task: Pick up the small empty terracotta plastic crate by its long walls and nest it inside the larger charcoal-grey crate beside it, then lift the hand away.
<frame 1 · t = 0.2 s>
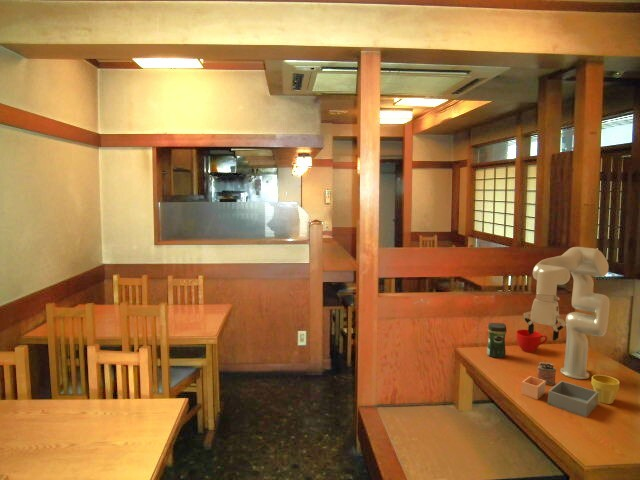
hand: (542, 336, 186), 30 cm above the table, fingers open, 9 cm apart
terracotta crate: (533, 393, 199), on the table
lighter: (545, 383, 210), on the table
plant pot: (603, 400, 194), on the table
grey crate: (572, 404, 190), on the table
ceramic cup: (531, 350, 252), on the table
coffee jar: (495, 355, 244), on the table
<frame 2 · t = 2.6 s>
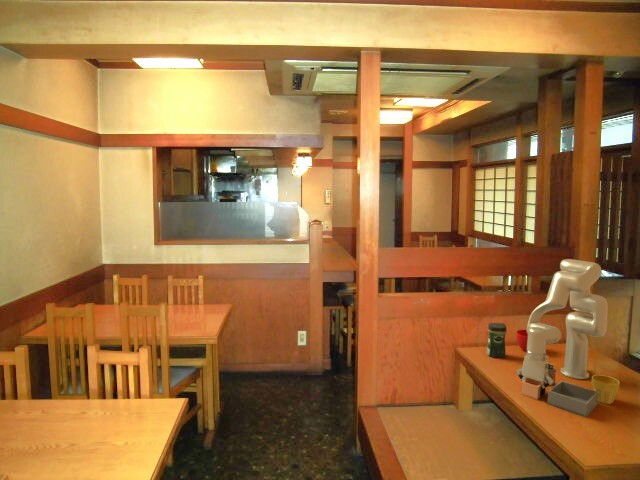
hand: (533, 392, 199), 1 cm above the table, fingers closed on terracotta crate, 7 cm apart
terracotta crate: (533, 393, 199), on the table, touching gripper
everything else where it was.
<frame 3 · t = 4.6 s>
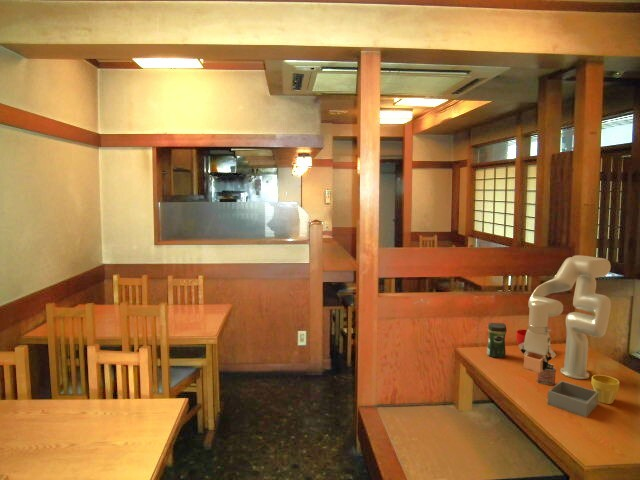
hand: (535, 366, 198), 13 cm above the table, fingers closed on terracotta crate, 7 cm apart
terracotta crate: (535, 367, 198), point 12 cm above the table, touching gripper
everything else where it was.
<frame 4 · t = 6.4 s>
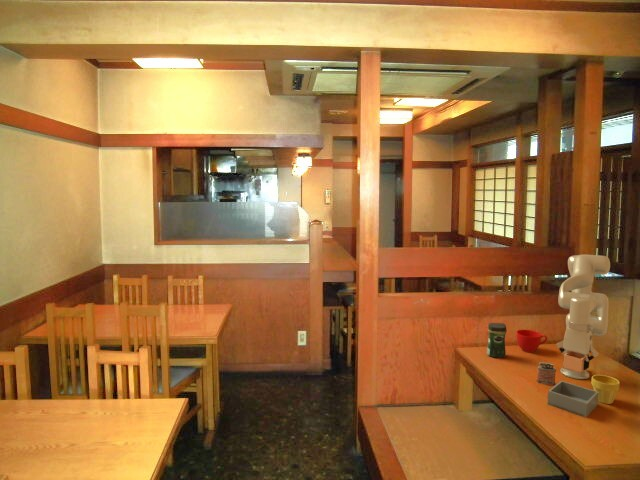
hand: (575, 366, 187), 17 cm above the table, fingers closed on terracotta crate, 7 cm apart
terracotta crate: (575, 367, 187), point 17 cm above the table, touching gripper
everything else where it was.
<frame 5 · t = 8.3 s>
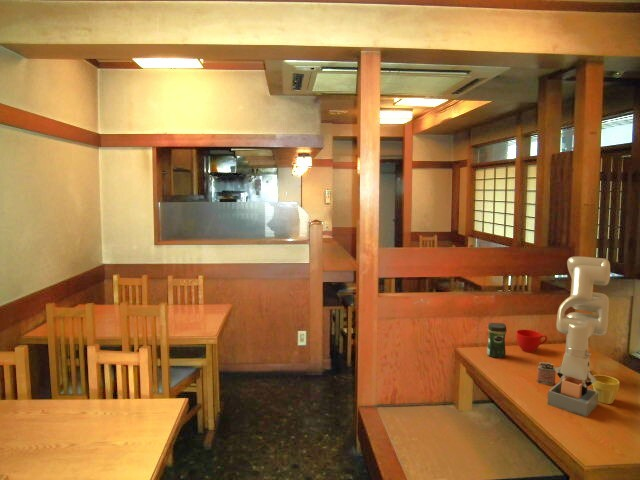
hand: (573, 391, 189), 6 cm above the table, fingers closed on terracotta crate, 7 cm apart
terracotta crate: (573, 393, 189), point 5 cm above the table, touching gripper
everything else where it was.
when the fingers open (3 cm above the table, at t = 10.0 s): terracotta crate drops 1 cm, resting on grey crate.
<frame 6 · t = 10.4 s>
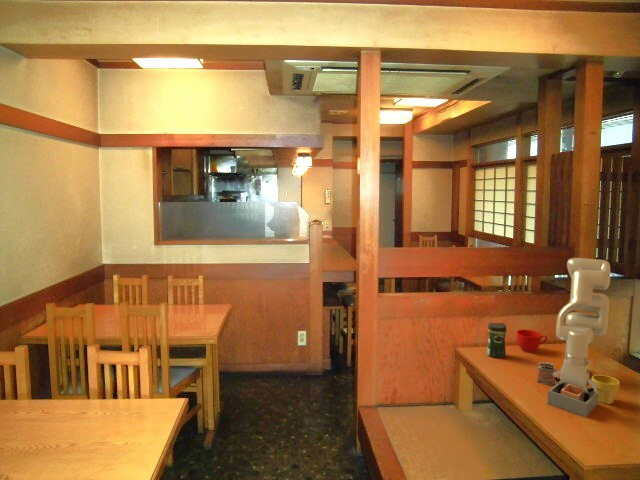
hand: (573, 396, 189), 3 cm above the table, fingers open, 9 cm apart
terracotta crate: (572, 402, 190), point 1 cm above the table, touching grey crate
everything else where it was.
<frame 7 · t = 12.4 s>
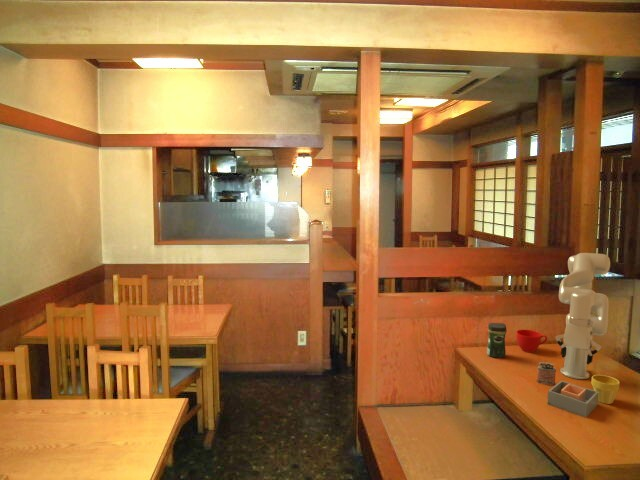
hand: (576, 360, 187), 20 cm above the table, fingers open, 9 cm apart
nothing on the table moved.
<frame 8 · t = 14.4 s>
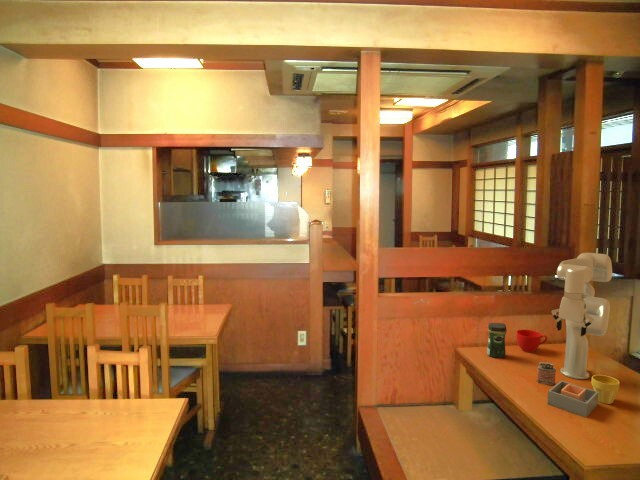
hand: (570, 332, 197), 28 cm above the table, fingers open, 9 cm apart
nothing on the table moved.
at the end: terracotta crate 0.0 cm off-centre on the grey crate, point 0.8 cm above the grey crate's base; terracotta crate tilted 0°; the gripper is holding nothing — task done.
